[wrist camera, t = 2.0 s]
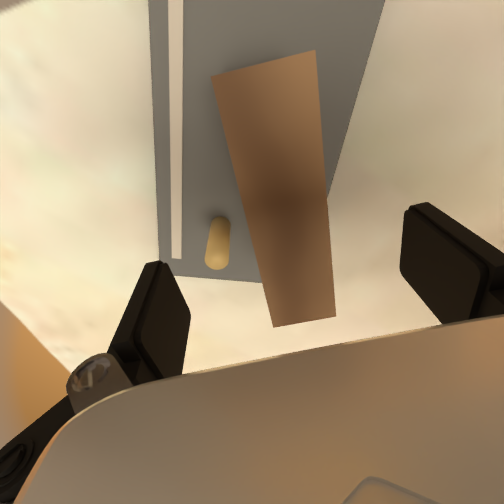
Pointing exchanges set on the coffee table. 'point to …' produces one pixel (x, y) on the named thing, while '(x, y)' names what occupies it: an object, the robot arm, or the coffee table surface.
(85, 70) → the coffee table surface
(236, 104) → the wooden block
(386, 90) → the coffee table surface
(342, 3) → the board
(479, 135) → the coffee table surface
